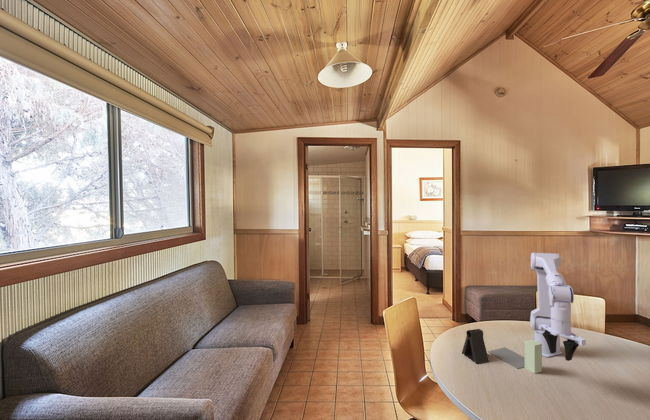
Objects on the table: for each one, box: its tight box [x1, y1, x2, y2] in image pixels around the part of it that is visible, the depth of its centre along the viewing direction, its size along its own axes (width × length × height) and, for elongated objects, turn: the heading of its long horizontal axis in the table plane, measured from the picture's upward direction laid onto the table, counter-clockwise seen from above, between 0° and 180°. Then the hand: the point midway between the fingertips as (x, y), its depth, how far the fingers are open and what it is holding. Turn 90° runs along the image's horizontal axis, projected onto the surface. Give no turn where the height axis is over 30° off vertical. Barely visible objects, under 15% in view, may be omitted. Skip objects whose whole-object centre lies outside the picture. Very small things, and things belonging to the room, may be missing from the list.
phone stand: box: [461, 328, 490, 365], centre depth 125 cm, size 9×6×12 cm, turn 13°
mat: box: [487, 346, 525, 369], centre depth 124 cm, size 10×14×1 cm
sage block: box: [524, 339, 543, 374], centre depth 115 cm, size 4×4×11 cm
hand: (560, 356), depth 106 cm, fingers open, 5 cm apart
